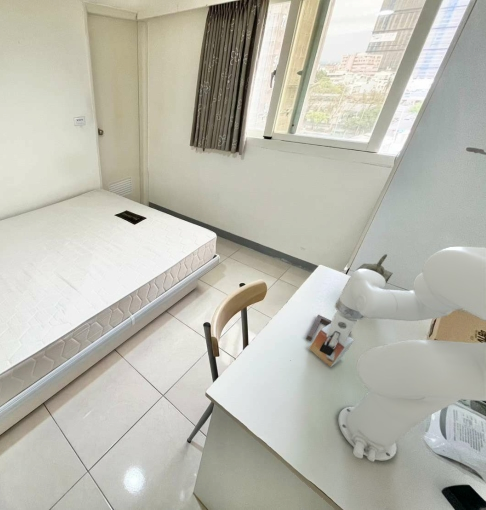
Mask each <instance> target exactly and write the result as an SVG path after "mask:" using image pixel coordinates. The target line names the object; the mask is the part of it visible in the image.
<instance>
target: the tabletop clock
mask: <svg viewBox="0 0 486 510" xmlns="http://www.w3.org/2000/svg"><path fill="white" fill-rule="evenodd" d="M387 257H388V254H383V256H381V257H380V259H379V260H378V262H377V263H362V264H361V265H360V266H359V267H357V269H356V270H358V269H369V270H372V271H375V272H377V273H379V274H380V275H382V276H383V277H384V279H385V281H386V284H387V283H388V282H389V280H390V278H391V277H392V275H393V272H391V271H389V270H387V269H385V267H384V266H383V265H382V264H383V263H384V261H385V260H386V258H387ZM356 270H354V272H355V271H356ZM354 272H353V273H354ZM351 276H352V274H351V275H350V277H351ZM348 281H349V279H348ZM348 281H347V282H346V284H347V283H348ZM346 284H345V286H346ZM345 286H344V288H345ZM344 288H343V289H342V291H343V290H344Z"/></svg>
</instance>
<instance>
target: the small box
mask: <svg viewBox="0 0 486 510" xmlns="http://www.w3.org/2000/svg"><path fill="white" fill-rule="evenodd" d="M329 326H330V324H329V325H325V326H324V327H323V328H321V329H320V330H319V331H318V333H317V334H316V336H315V338H314V340H313V341H312V343H311V345H310V346H309V348H308V350H309V351H310V352H312V353H313V354H314V355H315V356H317V357H318V358H319V359H320V360H321V361H323V362H324V363H325V364H326V365H327V366H328V367H330V368H331V367H333V366H334V365H335V364H337V363H339V362H340V361H341V360H342V359H343V357H344V356H345V354H346V353H347V352H348V350H349V348H350V347H351V346H352V345H353V343H354V342H355V340H354V339H353V338H352V337H350V336H348V337H347V339H346V340H345V342H344V344H340V343H339V341H338V343H337V345H336V347H335V349H334V351H333V352H332V354H331V356H328V355H326V354H325V353H323V352H321V351H320V348H321V346H322V345H323V343H324V342H326V340H327V338H328V337H327V332H328V329H329ZM331 337H333V335H331ZM330 341H331V339H329V341H328V342H330Z"/></svg>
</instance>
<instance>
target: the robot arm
mask: <svg viewBox="0 0 486 510" xmlns="http://www.w3.org/2000/svg"><path fill="white" fill-rule="evenodd" d="M357 269H358V268H357ZM357 269H356V271H355V270H354V271H355V272H352V274H351V275H352V276H351V275H350V277H349V278H348V280H349V281H347V282H348V283H347V282H346V284H345V285H346V286H344V287H345V288H343V289H344V290H343V289H342V291H341V293H340V295H339V297H338V298H337V300H336V302H335V304H334V308H335V310H336V312H335V313H334V315H333V317H332V319H331V324H330V326H329V329H328V332H327V337H328V338H327V340H326V342H324V343H323V345H322V346H321V348H320V351H321V352H323V353H325V354H326V355H328V356H331V354H332V352H333V351H334V349H335V347H336V345H337V343H338V341H339V343H340V344H344V342H345V340H346V339H347V337H350V335H351V333H352V331H353V329H354V328H355V326H356V323H357V322H358V321H361V320H363V319H364V318H368V319H376V320H391V321H392V320H393V321H406V322H416V321H417V322H418V321H424V320H432V319H439V318H445V317H447V316H449V315H451V314H452V313H453V312H454V311H459V310H464V311H466V312H468V313H470V314H472V315H473V316H475V317H477V318H479V319H481V320H483V321H485V322H486V247H482V246H481V247H480V246H450V247H446V248H442V249H440V250H438V251H436V252H434V253H433V254H431V255H430V256H429V257H428V258H427V259H426V260H425V262H424V264H423V266H422V271H421V272H420V273H419V274H417V276H416V277H414V280H413V285H412V287H413V289H412V290H399V289H388V288H387V289H385V287H386V284H387V283H386V281H385V279H384V277H383V276H382V275H380V274H379V273H377V272H375V271H372V270H369V269H358V270H357ZM350 332H351V333H350ZM349 334H350V335H349ZM331 335H333V337H331ZM329 339H331V341H330V342H328V341H329ZM356 372H357V375H358V378H359V380H360V381H361V382H362V384H363V385H364V386H365V387H366V388H367V389H368V390H369V391H368V392H366V394H365V395H364V397H363V398H361V400H360V401H359V402H358V403H357V404H356V405H355V406H346V407H344V408H343V409H342V410H341V411H340V412H339V414H338V418H337V421H338V426H339V429H340V431H341V433H342V435H343V437H344V438H345V440H347V442H348V443H349V444H350V445H351V446H352V447H353V451H352V454H353V455H354V456H355V457H356V458H358V459H363V458H364V456H365V457H366V458H367V460H369V461H370V462H375V461H380V462H384V461H388V460H391V459H392V458H394V456H395V455H396V453H397V442H398V441H399V440H401V439H402V438H404V437H405V436H406V435H408V434H409V432H411V431H412V430H413V429H415V428H416V427H417V426H418V425H420V424H421V423H422V422H423V421H425V420H426V419H428V418H429V417H430V416H432V415H433V414H435V413H437V412H439V411H442V410H443V409H446V408H449V407H450V406H452V405H454V404H455V403H457V402H459V401H460V400H462V401H463V400H464V401H476V402H477V401H479V402H486V341H485V342H466V341H464V342H463V341H452V340H440V339H439V340H438V339H423V338H422V339H407V340H402V341H401V340H400V341H396V342H392V343H388V344H383V345H379V346H375V347H371V348H368V349H366V350H365V351H364V352H363V353H361V354H360V356H359V358H358V360H357V364H356Z"/></svg>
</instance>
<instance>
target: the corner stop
mask: <svg viewBox="0 0 486 510" xmlns="http://www.w3.org/2000/svg"><path fill="white" fill-rule="evenodd" d="M331 321H332V319H329V318H327V317H325V316H322V315H321V314H317V316H316V318H315V320H314V322H313V324H312V326H311V328H310V330H309V331H308V334H307V336H306V338H305V340H307V341H308V342H311V340H312V339H313V337H314V335H315V333H316V331H317V329H318V327H319V326H320V324H323V325H324V326H327V325H329V324H331ZM351 333H352V331H351V332H350V334H349V336H350V335H351Z"/></svg>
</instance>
